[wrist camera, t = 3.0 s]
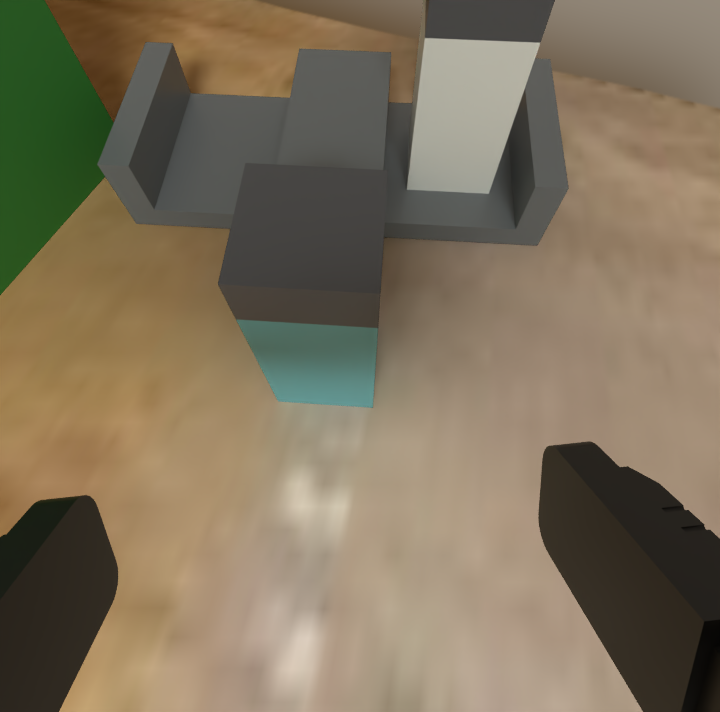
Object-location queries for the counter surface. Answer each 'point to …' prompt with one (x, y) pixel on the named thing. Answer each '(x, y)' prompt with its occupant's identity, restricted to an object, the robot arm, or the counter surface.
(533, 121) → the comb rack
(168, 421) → the counter surface
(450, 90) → the ivory plug
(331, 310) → the grey-topped teal block
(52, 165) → the hardback book
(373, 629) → the counter surface
